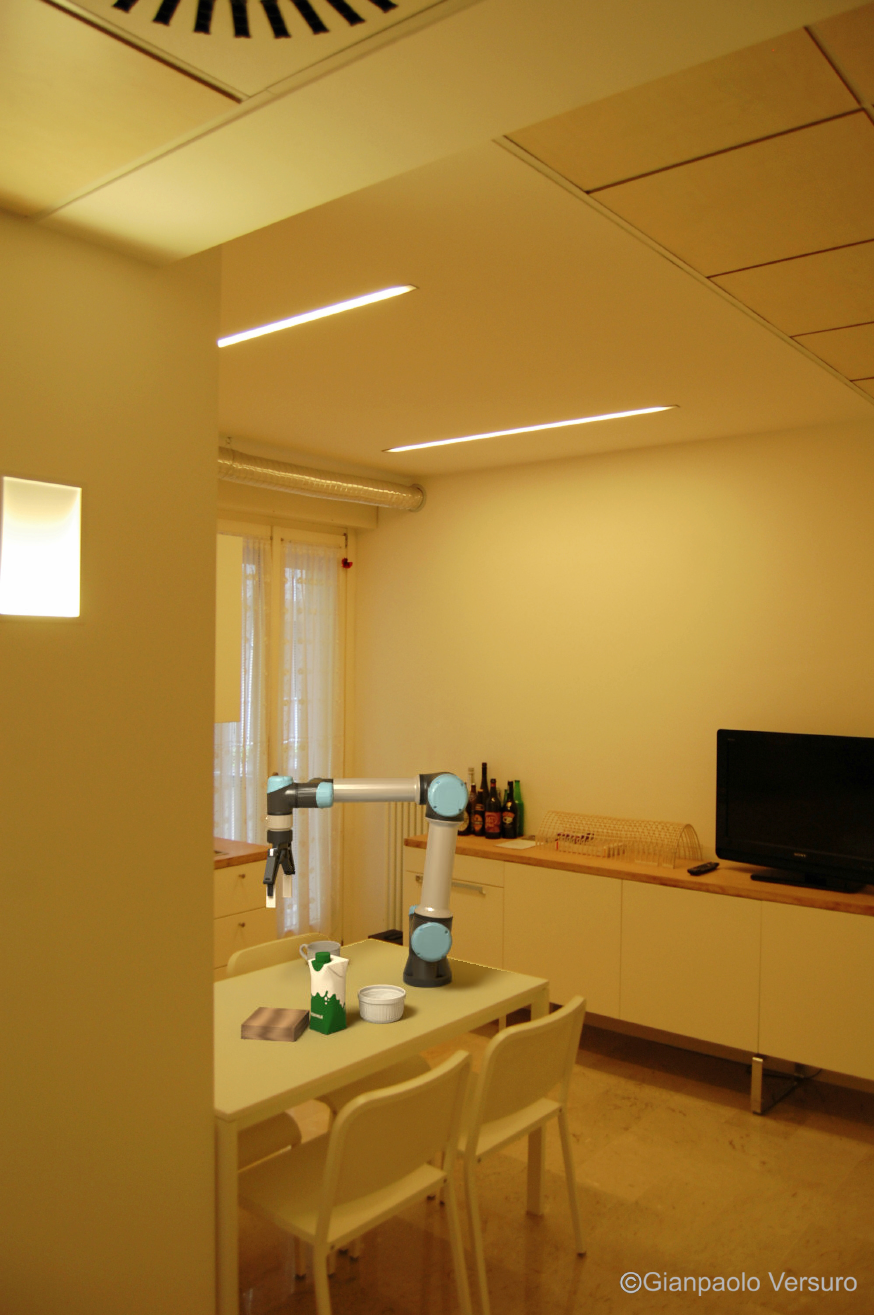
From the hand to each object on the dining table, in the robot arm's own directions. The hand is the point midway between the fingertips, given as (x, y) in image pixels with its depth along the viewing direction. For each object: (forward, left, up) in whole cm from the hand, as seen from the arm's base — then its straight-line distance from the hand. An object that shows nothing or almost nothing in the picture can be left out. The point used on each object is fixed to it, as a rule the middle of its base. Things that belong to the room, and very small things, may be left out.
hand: (279, 902), depth 279 cm
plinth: (-8, +27, -28) cm, 40 cm away
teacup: (-4, -29, -28) cm, 40 cm away
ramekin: (-33, +12, -28) cm, 45 cm away
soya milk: (-21, +23, -28) cm, 42 cm away
